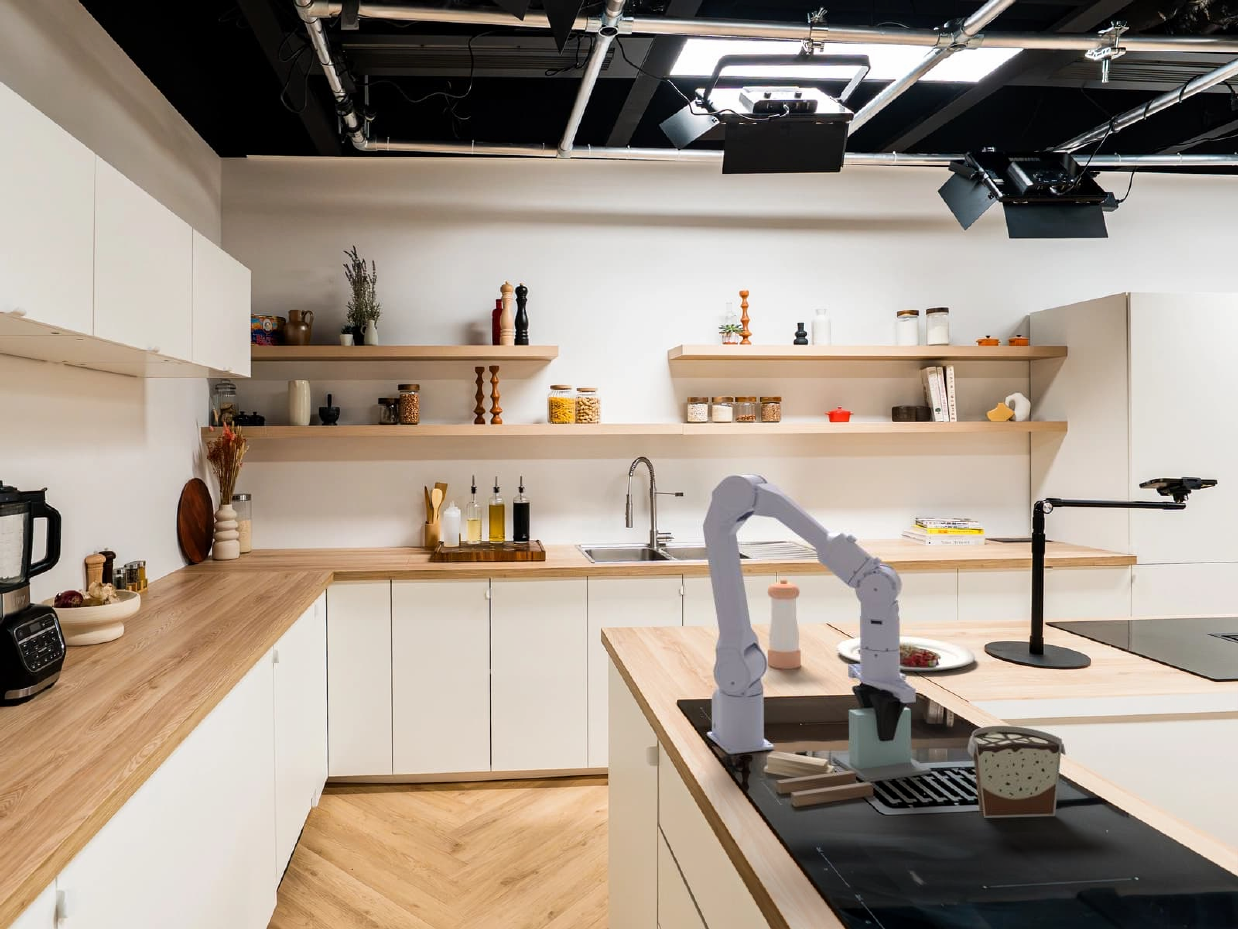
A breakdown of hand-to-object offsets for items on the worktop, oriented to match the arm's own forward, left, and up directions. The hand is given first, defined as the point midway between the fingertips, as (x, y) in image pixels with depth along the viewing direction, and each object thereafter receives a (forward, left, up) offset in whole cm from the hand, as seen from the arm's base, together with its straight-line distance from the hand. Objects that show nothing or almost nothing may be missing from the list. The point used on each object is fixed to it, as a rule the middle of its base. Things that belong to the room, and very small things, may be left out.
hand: (880, 736), depth 122 cm
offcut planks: (-1, -13, -5) cm, 14 cm away
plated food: (-55, +43, -5) cm, 70 cm away
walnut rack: (+6, -13, -4) cm, 15 cm away
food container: (+17, +8, -5) cm, 19 cm away
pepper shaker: (-58, +14, -5) cm, 60 cm away
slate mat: (0, 0, -4) cm, 4 cm away
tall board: (0, 0, -4) cm, 4 cm away
